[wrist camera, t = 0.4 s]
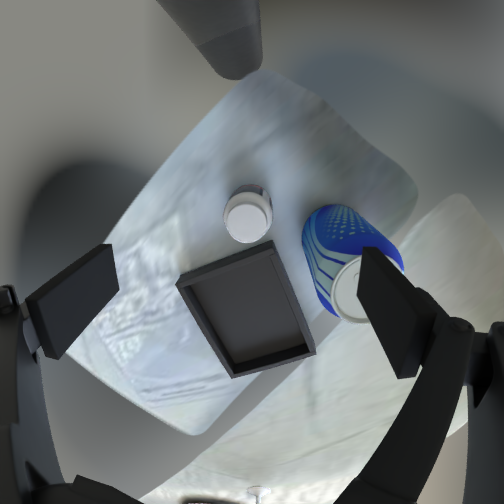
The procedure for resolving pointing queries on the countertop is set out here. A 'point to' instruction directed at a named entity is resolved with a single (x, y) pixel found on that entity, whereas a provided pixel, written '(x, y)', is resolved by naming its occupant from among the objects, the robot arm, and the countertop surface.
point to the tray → (248, 311)
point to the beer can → (341, 258)
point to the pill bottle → (248, 213)
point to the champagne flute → (258, 492)
